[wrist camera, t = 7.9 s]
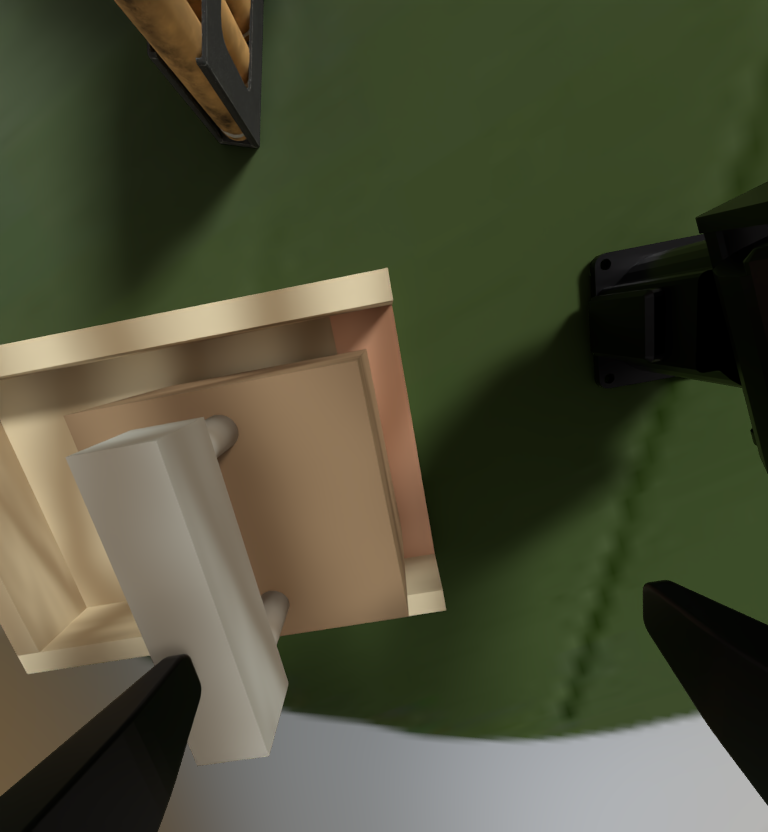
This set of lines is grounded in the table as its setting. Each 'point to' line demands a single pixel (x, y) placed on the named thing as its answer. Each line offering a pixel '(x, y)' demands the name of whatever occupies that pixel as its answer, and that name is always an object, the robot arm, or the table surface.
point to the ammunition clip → (209, 59)
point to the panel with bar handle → (245, 526)
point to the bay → (143, 372)
